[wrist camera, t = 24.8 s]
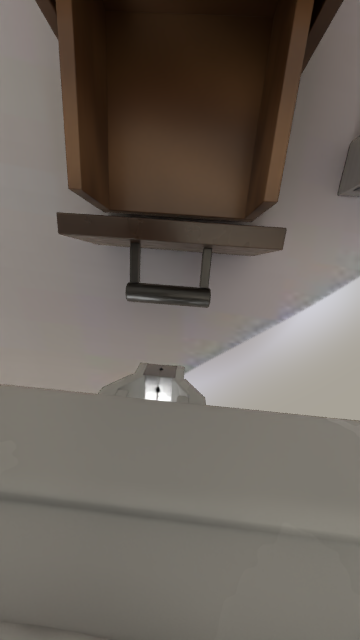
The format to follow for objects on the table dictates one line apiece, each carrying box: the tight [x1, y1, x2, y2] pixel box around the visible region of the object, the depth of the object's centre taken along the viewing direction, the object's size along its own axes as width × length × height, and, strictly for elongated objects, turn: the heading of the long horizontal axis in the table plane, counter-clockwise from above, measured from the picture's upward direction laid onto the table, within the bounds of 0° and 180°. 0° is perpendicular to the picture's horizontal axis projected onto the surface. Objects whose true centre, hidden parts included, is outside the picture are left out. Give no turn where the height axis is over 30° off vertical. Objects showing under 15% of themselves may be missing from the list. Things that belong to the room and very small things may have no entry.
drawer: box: [56, 0, 314, 308], centre depth 13 cm, size 19×13×5 cm
